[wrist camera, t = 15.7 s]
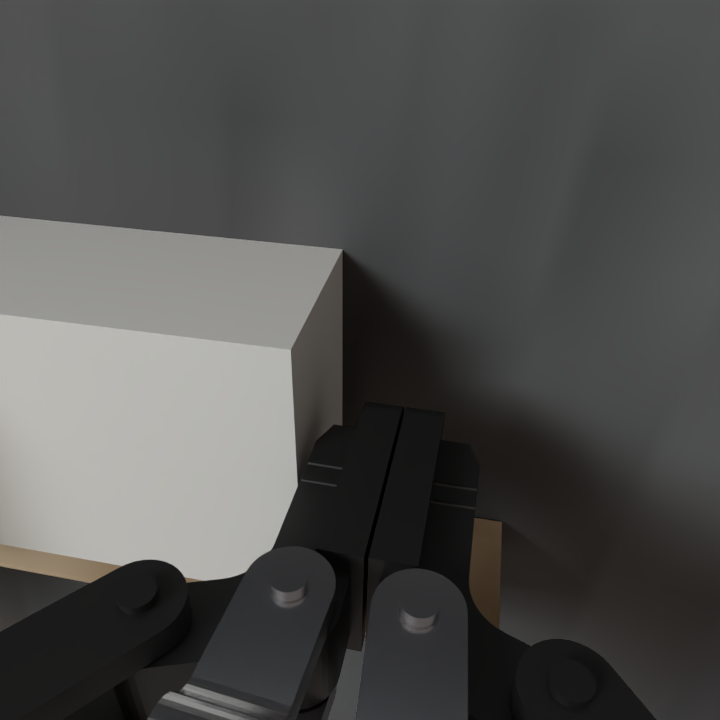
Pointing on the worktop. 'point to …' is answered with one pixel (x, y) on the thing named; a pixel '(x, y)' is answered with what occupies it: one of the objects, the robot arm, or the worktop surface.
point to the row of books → (480, 580)
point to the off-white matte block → (160, 390)
